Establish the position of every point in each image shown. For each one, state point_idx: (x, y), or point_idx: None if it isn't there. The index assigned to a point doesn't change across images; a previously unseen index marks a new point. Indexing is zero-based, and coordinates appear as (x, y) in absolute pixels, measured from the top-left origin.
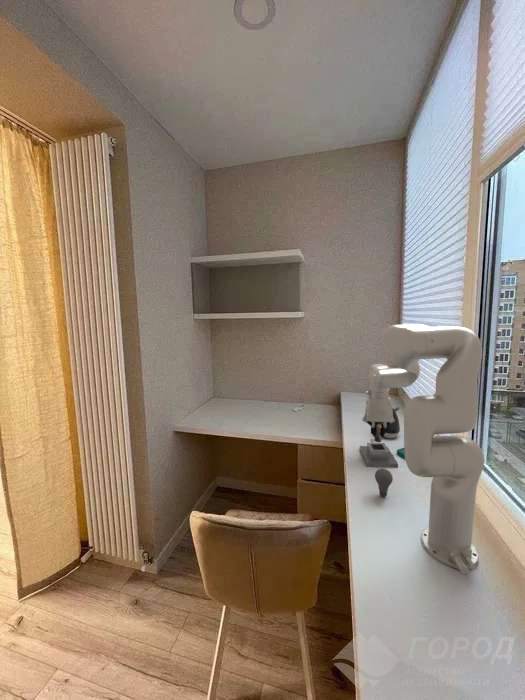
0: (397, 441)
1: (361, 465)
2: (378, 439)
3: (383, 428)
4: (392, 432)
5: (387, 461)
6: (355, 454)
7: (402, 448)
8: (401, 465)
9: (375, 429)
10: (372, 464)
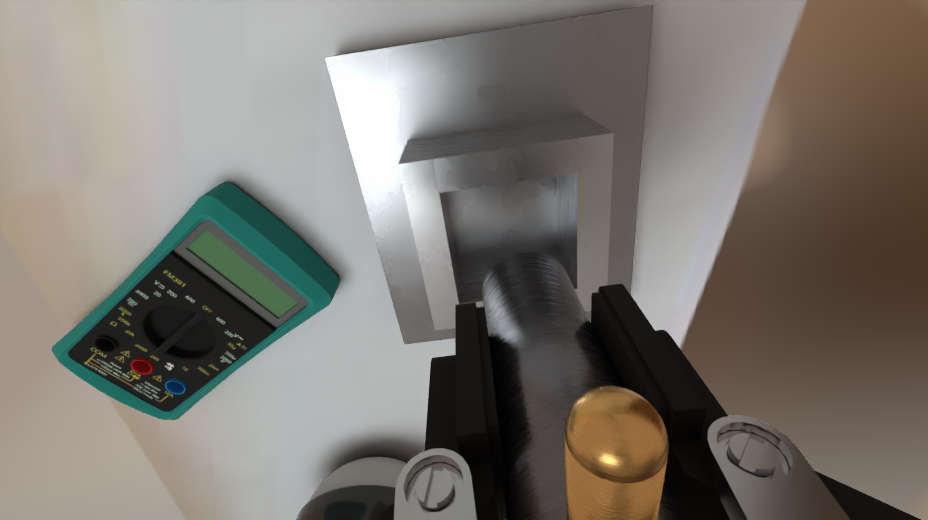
0: (327, 432)
1: (684, 22)
2: (533, 272)
3: (475, 431)
4: (347, 496)
5: (428, 86)
6: (676, 216)
7: (281, 327)
8: (303, 104)
9: (654, 388)
10: (588, 15)
